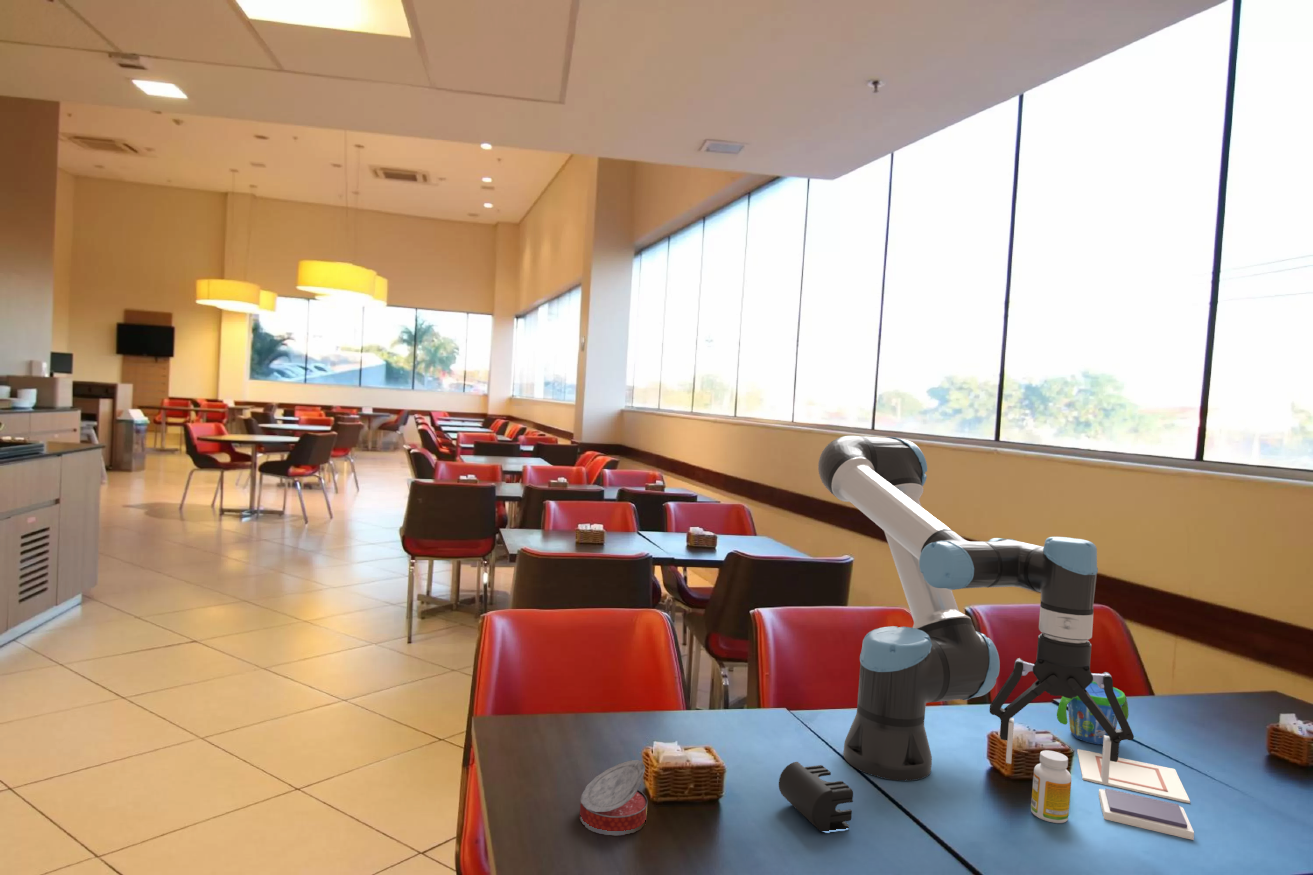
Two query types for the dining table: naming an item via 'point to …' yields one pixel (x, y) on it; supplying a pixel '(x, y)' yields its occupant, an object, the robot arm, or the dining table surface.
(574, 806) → the dining table surface
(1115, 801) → the ink pad
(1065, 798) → the supplement bottle
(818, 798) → the end cap
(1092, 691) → the snack cup
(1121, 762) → the cream flat board
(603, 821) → the canned food
